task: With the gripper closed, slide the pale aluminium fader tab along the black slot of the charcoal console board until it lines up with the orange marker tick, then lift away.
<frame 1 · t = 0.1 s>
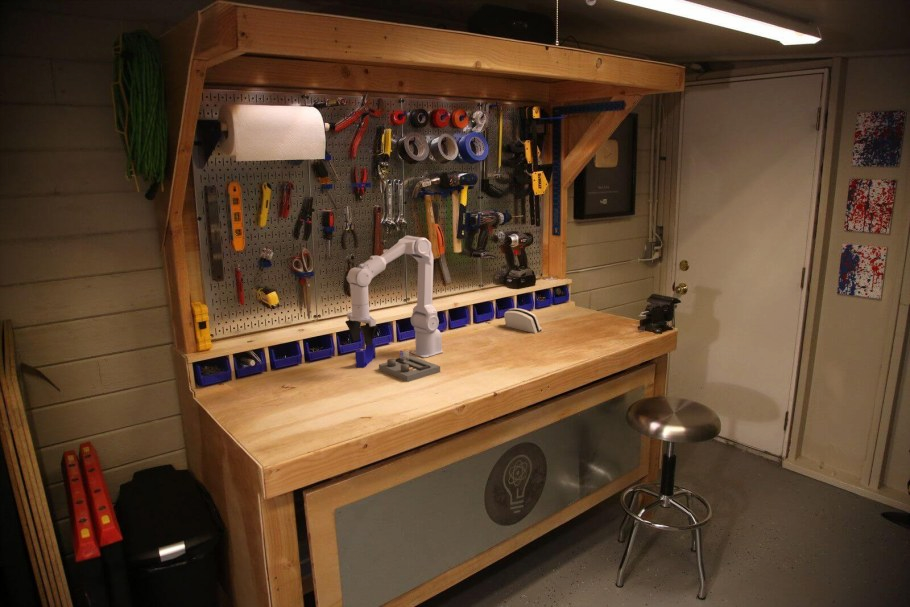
hand: (362, 342, 207), 10 cm above the workbench, fingers open, 7 cm apart
blue block: (364, 363, 218), on the workbench
fader tab: (404, 355, 212), point 4 cm above the workbench, slide at -4.5 cm
console board: (409, 370, 208), on the workbench
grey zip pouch: (521, 329, 259), on the workbench
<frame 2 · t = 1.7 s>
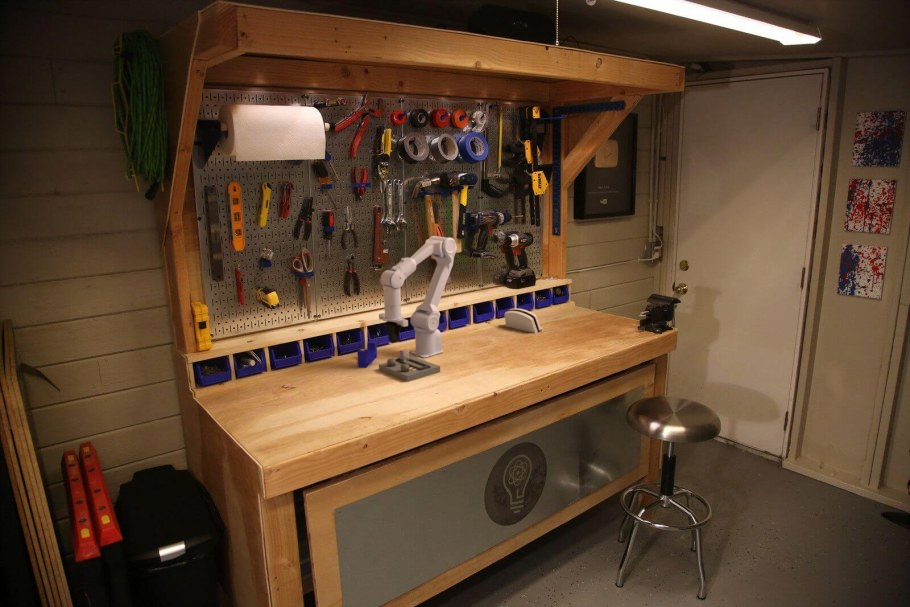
hand: (393, 342, 215), 8 cm above the workbench, fingers closed
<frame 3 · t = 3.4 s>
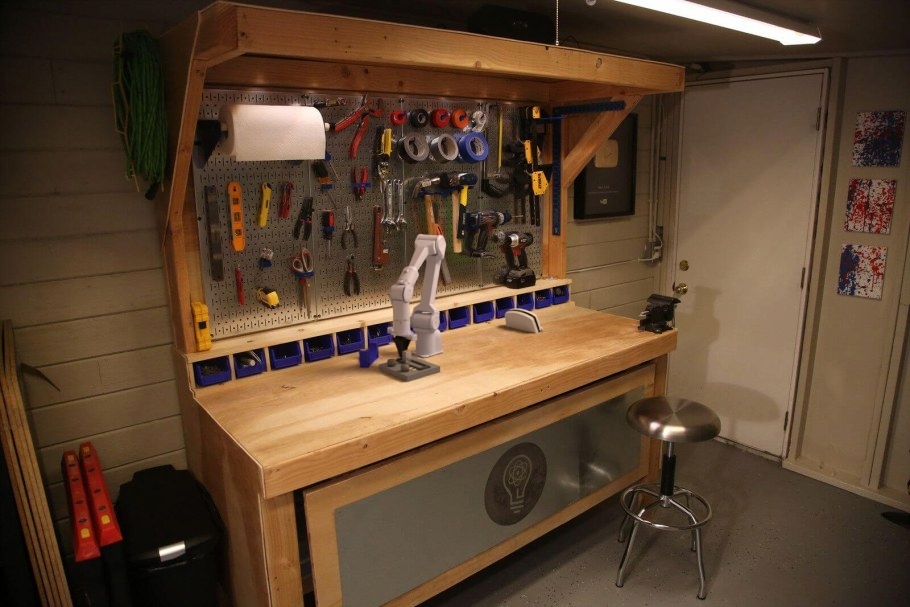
hand: (402, 356, 213), 3 cm above the workbench, fingers closed
fader tab: (406, 356, 211), point 4 cm above the workbench, slide at -3.2 cm, touching gripper
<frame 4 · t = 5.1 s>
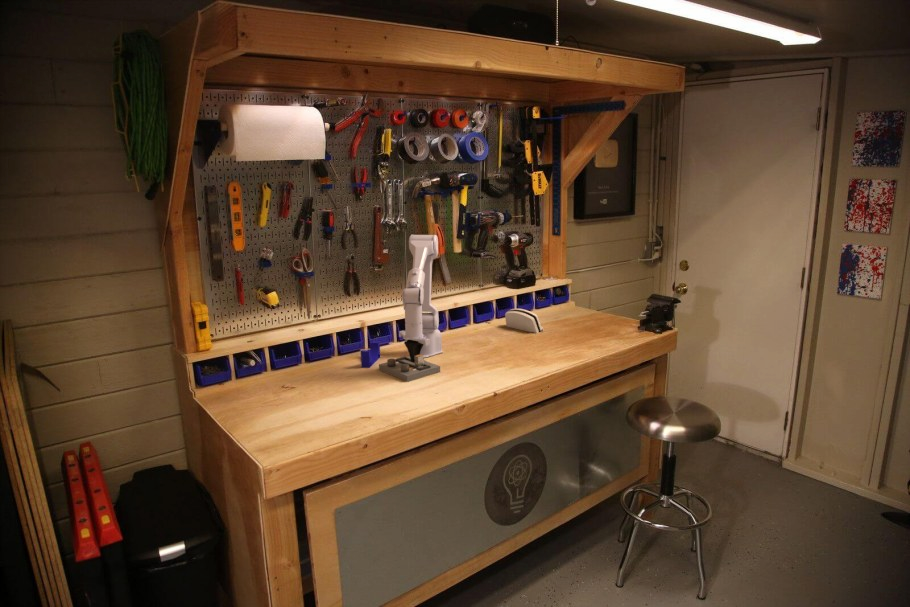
hand: (414, 361, 208), 3 cm above the workbench, fingers closed
fader tab: (419, 360, 206), point 4 cm above the workbench, slide at 3.6 cm, touching gripper
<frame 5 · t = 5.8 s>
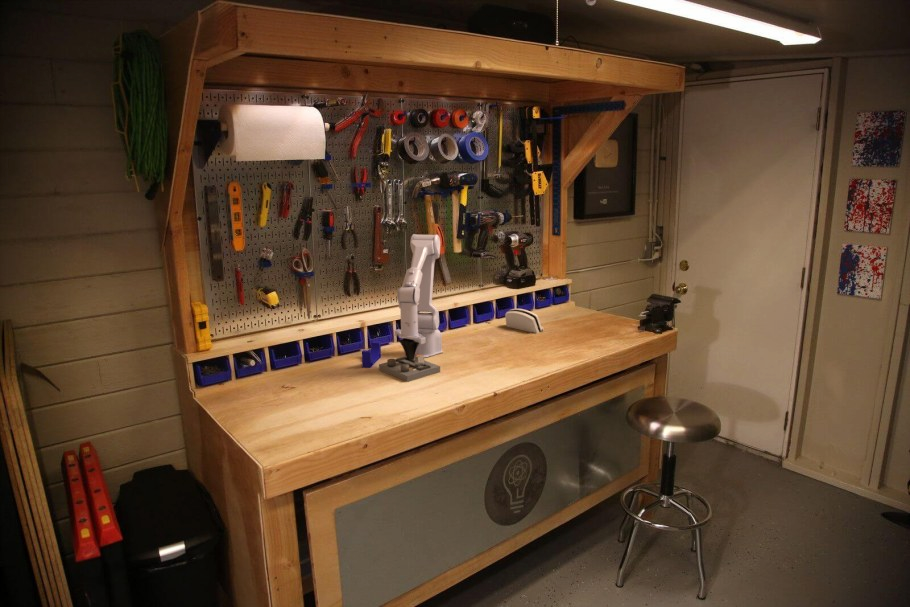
hand: (410, 359, 210), 3 cm above the workbench, fingers closed
fader tab: (419, 360, 206), point 4 cm above the workbench, slide at 3.6 cm
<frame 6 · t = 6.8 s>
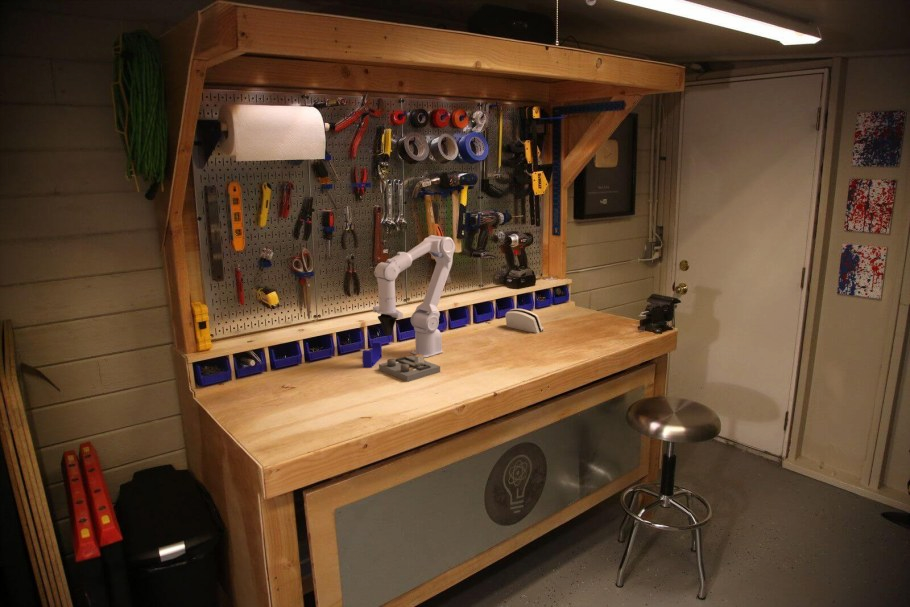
hand: (388, 335, 214), 10 cm above the workbench, fingers closed
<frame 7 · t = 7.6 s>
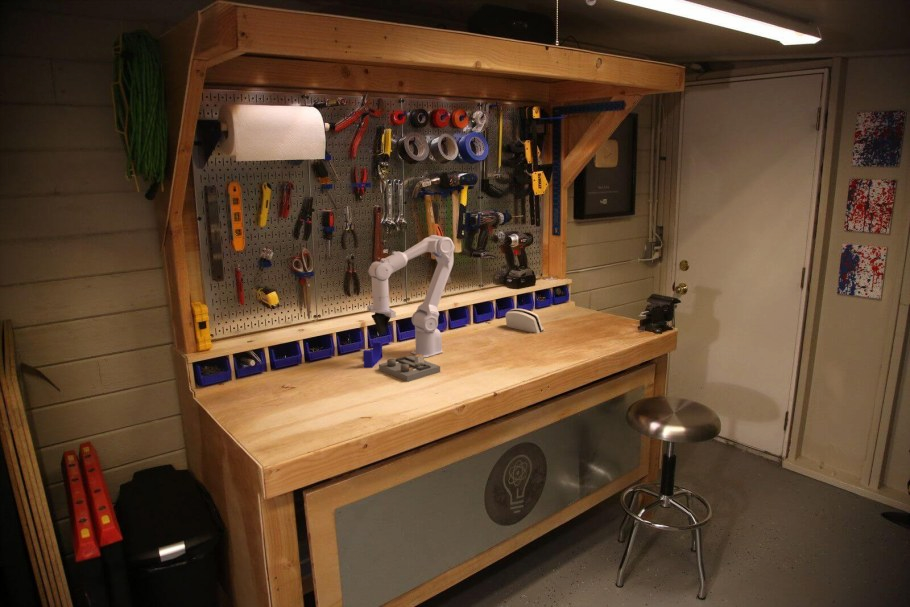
hand: (382, 333, 216), 10 cm above the workbench, fingers closed
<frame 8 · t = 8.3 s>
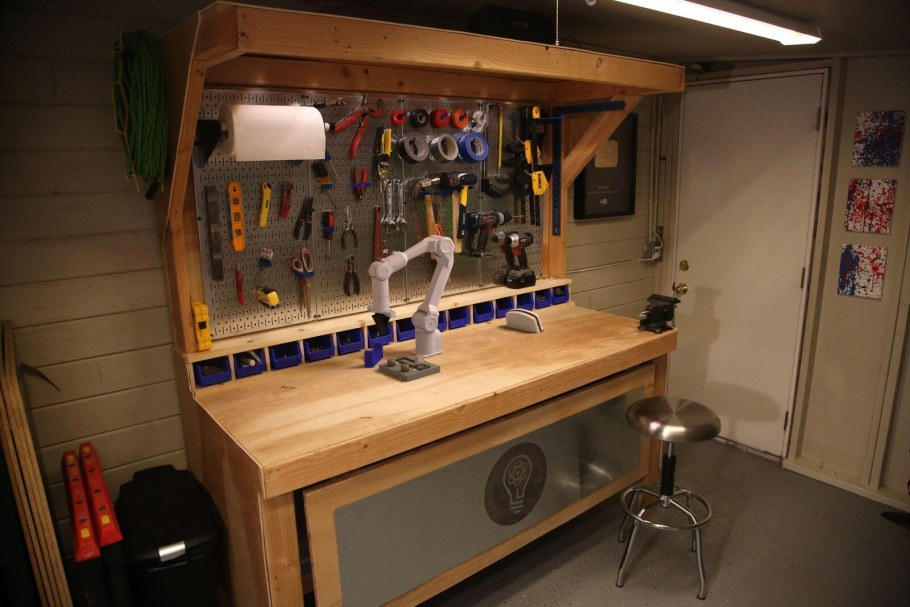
hand: (382, 333, 216), 10 cm above the workbench, fingers closed
at the end: fader tab slide at 3.6 cm; the gripper is holding nothing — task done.
